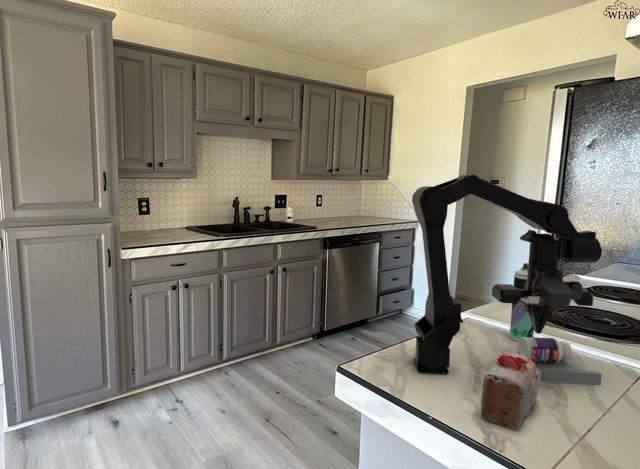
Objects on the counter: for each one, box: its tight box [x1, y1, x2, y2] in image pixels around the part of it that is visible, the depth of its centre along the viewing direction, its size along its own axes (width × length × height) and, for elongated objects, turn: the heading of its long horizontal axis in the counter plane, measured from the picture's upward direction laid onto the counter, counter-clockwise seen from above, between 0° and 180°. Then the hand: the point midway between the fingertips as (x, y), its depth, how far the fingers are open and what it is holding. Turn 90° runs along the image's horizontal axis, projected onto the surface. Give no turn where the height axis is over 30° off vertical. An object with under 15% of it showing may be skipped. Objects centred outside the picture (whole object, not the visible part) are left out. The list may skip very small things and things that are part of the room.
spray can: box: [509, 262, 537, 343], centre depth 103 cm, size 6×6×20 cm
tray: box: [517, 349, 603, 386], centre depth 87 cm, size 11×13×2 cm
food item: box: [480, 351, 541, 431], centre depth 71 cm, size 14×8×10 cm, turn 144°
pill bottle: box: [517, 336, 573, 363], centre depth 90 cm, size 5×5×10 cm
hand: (537, 332), depth 87 cm, fingers closed
